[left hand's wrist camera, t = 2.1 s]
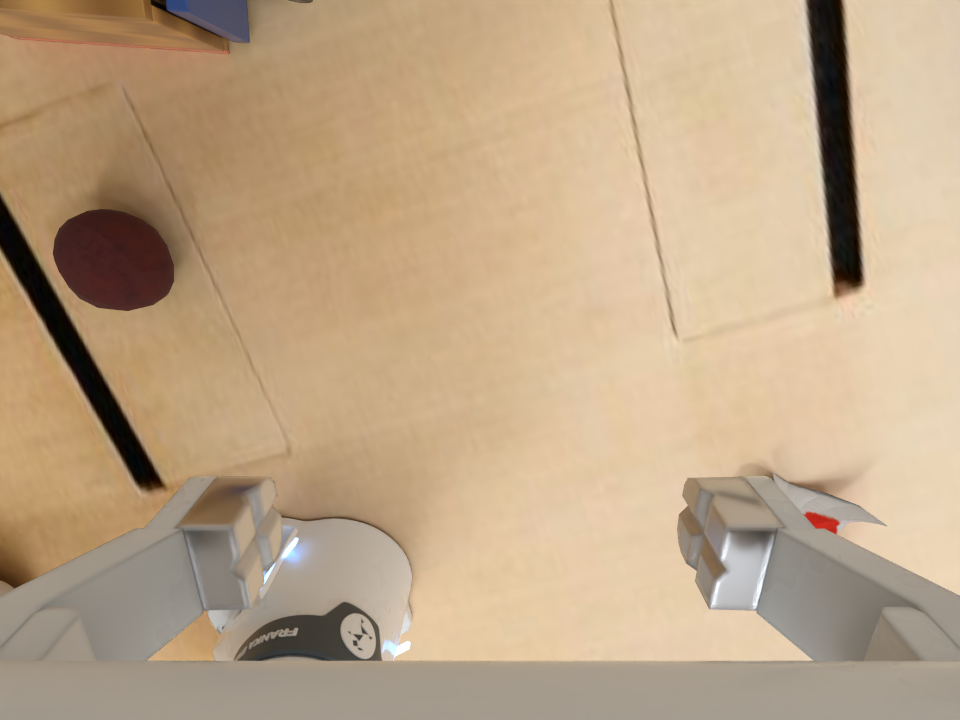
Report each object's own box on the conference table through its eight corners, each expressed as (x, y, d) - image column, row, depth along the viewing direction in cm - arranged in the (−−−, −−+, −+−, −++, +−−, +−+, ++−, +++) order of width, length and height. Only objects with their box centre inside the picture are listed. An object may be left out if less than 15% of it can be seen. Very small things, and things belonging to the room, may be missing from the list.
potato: (127, 185, 41) (61, 190, 34) (211, 257, 43) (163, 275, 36) (77, 251, 43) (4, 269, 36) (159, 318, 45) (104, 345, 38)
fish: (743, 636, 52) (833, 681, 42) (702, 479, 53) (781, 488, 44) (827, 601, 55) (929, 636, 45) (786, 453, 56) (877, 456, 47)
